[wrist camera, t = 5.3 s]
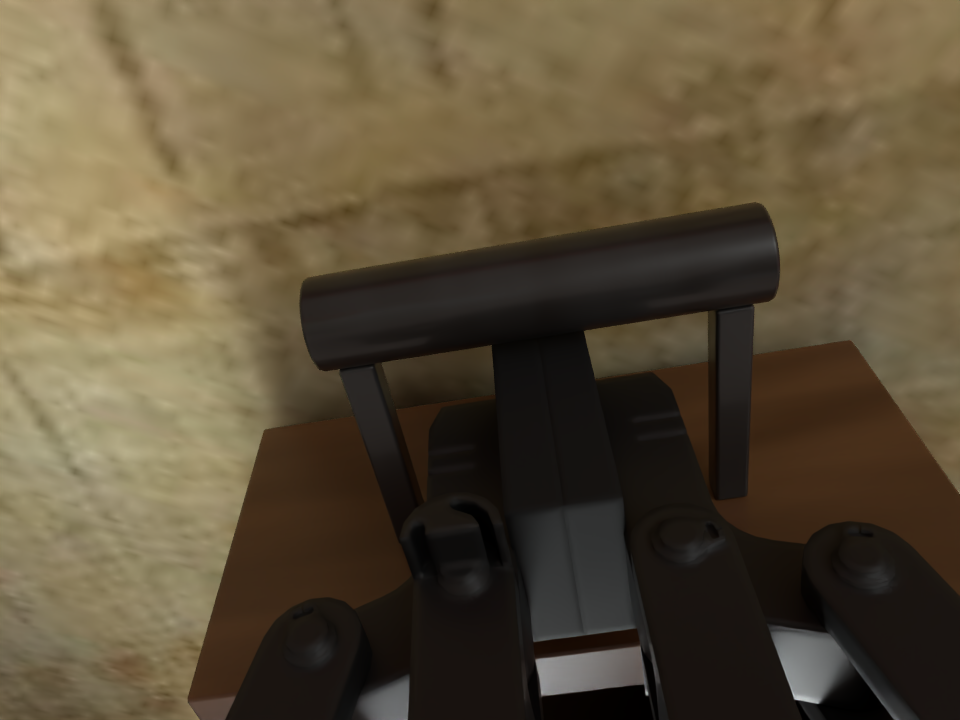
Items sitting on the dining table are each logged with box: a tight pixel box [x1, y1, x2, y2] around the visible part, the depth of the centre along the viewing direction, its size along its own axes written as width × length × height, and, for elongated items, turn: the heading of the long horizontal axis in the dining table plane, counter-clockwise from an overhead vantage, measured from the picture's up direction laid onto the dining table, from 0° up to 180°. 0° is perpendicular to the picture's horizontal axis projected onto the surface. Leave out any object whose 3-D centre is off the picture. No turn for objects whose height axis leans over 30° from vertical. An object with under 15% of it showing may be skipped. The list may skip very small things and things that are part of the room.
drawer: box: [188, 202, 960, 720], centre depth 19 cm, size 21×14×7 cm, turn 10°
